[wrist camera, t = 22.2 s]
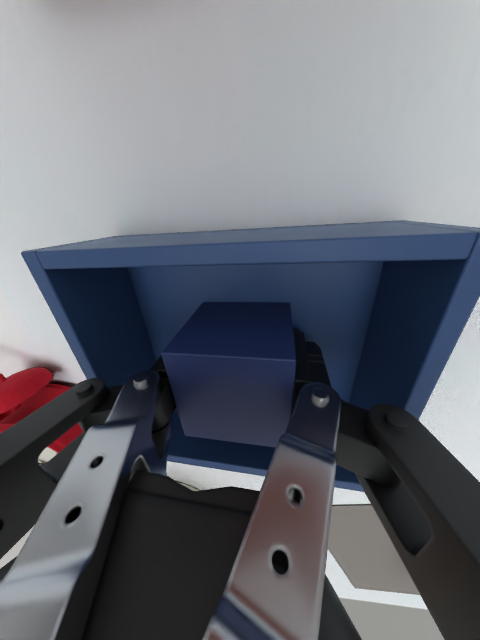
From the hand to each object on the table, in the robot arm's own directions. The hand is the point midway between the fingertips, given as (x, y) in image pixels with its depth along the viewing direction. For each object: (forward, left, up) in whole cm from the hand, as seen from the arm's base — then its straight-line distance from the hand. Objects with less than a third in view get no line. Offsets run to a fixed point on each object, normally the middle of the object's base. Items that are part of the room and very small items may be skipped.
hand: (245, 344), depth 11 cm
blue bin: (0, 0, -1) cm, 1 cm away
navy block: (0, 0, -1) cm, 1 cm away
